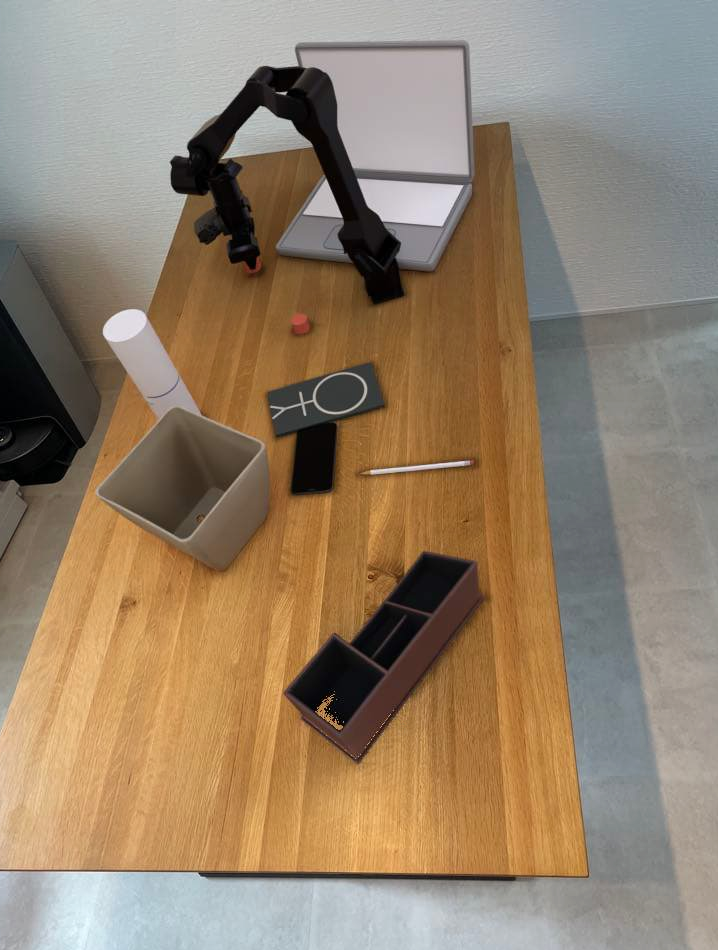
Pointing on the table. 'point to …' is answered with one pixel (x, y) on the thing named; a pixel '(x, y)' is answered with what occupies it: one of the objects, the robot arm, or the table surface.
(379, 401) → the board
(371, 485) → the table surface
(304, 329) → the dot
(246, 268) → the dot
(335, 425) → the smartphone
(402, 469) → the pencil
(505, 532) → the table surface
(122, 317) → the cylindrical container
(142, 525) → the flower pot
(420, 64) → the laptop
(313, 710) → the desk organizer
